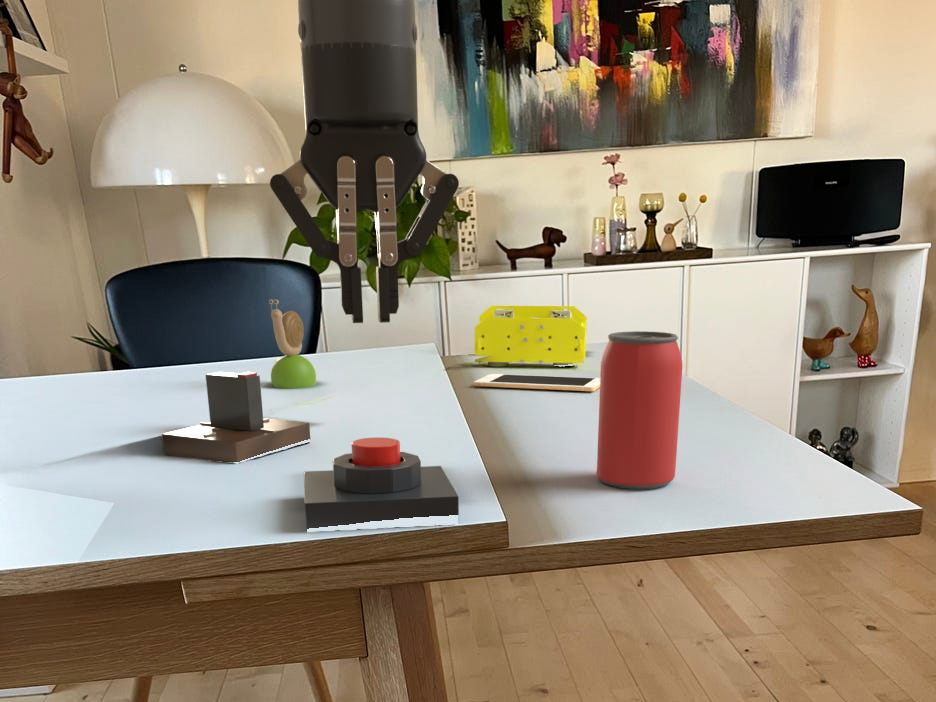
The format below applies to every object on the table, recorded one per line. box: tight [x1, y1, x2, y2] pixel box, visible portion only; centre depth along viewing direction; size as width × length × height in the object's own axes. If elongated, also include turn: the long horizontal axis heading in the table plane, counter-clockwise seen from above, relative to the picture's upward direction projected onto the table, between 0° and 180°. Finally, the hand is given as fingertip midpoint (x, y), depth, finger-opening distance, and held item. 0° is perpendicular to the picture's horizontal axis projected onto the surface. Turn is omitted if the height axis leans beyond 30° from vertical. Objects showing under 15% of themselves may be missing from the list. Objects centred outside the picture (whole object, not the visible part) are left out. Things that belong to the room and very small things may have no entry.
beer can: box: [596, 330, 683, 490], centre depth 86 cm, size 7×7×12 cm
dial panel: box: [161, 417, 311, 463], centre depth 101 cm, size 11×9×2 cm
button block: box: [303, 451, 460, 530], centre depth 79 cm, size 11×10×4 cm
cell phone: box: [473, 373, 600, 392], centre depth 137 cm, size 8×16×1 cm, turn 72°
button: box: [351, 436, 401, 466], centre depth 78 cm, size 4×4×2 cm
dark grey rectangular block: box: [205, 371, 264, 431], centre depth 100 cm, size 5×2×5 cm, turn 61°
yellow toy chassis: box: [474, 305, 588, 367], centre depth 154 cm, size 16×6×8 cm, turn 82°
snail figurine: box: [268, 298, 317, 390], centre depth 125 cm, size 5×6×12 cm
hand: (370, 321), depth 75 cm, fingers closed
